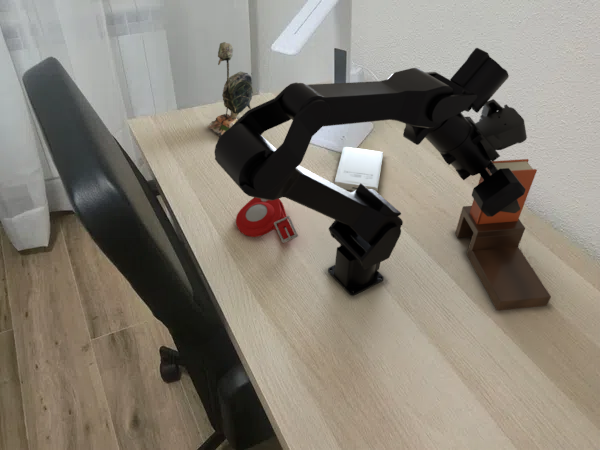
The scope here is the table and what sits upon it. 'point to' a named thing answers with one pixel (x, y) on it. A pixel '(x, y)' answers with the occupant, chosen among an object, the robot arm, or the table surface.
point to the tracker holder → (265, 219)
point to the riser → (502, 263)
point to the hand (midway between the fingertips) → (504, 192)
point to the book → (526, 178)
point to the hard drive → (359, 168)
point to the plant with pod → (232, 93)
